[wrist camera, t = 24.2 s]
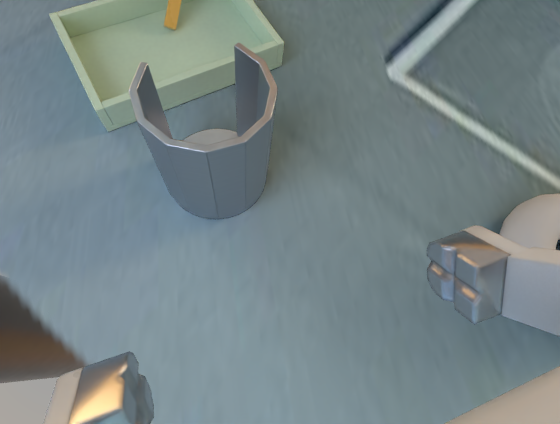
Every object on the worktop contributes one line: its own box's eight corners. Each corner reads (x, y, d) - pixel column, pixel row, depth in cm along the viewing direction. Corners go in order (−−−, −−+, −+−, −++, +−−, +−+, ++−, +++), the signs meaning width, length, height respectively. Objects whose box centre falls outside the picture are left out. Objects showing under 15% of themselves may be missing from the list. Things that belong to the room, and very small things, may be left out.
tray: (108, 132, 27) (95, 111, 24) (63, 40, 30) (48, 13, 27) (281, 66, 31) (284, 42, 28) (227, -10, 34) (226, -37, 31)
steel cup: (280, 202, 26) (296, 128, 18) (182, 232, 24) (149, 167, 16) (248, 123, 28) (249, 25, 20) (156, 146, 27) (117, 50, 18)
